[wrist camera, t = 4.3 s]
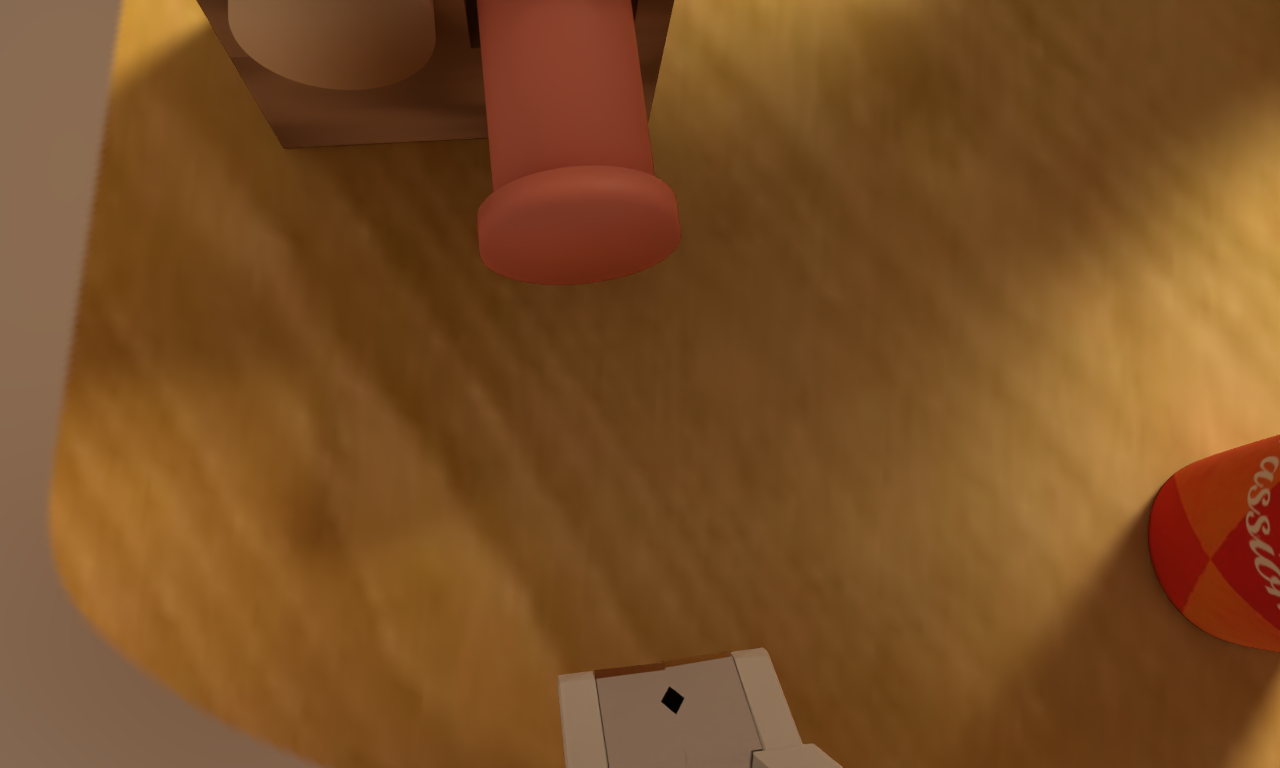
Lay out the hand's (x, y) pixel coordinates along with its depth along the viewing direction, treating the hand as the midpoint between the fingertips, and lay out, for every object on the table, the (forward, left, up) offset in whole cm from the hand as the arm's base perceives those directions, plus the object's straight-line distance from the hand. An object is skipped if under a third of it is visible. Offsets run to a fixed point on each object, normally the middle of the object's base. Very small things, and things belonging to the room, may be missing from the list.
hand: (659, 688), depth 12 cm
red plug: (0, -14, -7) cm, 16 cm away
